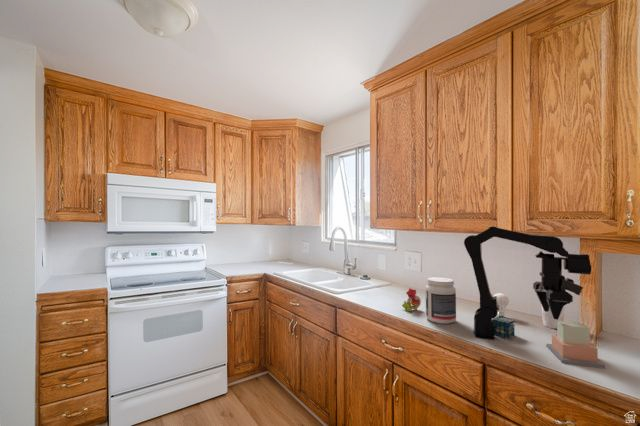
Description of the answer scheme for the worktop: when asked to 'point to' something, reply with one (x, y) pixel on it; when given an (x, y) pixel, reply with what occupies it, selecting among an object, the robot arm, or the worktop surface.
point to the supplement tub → (440, 300)
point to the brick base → (575, 361)
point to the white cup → (551, 318)
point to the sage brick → (573, 333)
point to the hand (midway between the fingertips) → (550, 315)
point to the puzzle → (504, 327)
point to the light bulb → (502, 303)
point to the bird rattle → (412, 300)
